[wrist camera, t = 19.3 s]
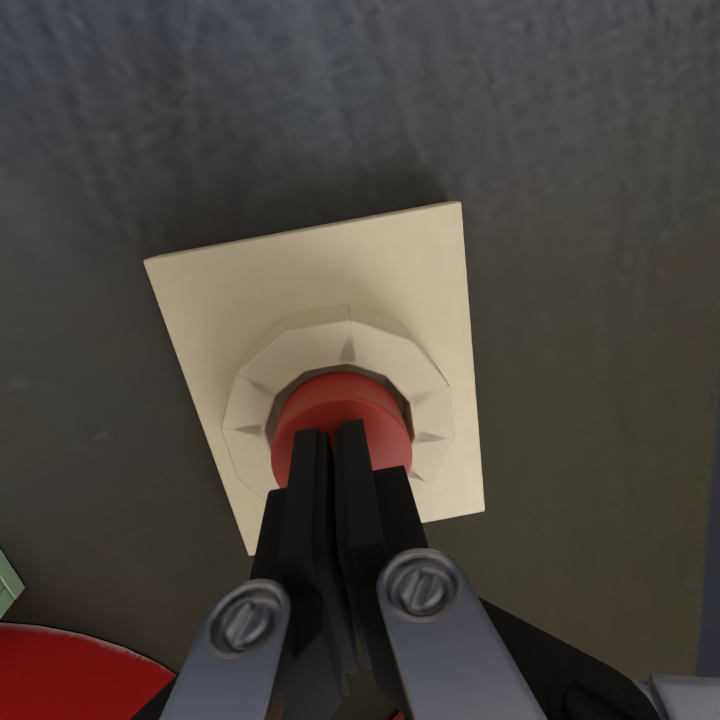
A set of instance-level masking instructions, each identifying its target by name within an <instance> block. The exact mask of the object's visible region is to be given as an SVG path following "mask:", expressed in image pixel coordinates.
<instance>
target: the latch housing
mask: <svg viewBox="0 0 720 720" xmlns="http://www.w3.org/2000/svg"><path fill="white" fill-rule="evenodd" d="M144 265H145V268H146V271H147V273H148V276H149V279H150V282H151V285H152V287H153V290H154V293H155V296H156V299H157V301H158V304H159V307H160V310H161V312H162V315H163V318H164V321H165V324H166V326H167V329H168V332H169V335H170V338H171V340H172V343H173V346H174V349H175V351H176V354H177V357H178V360H179V363H180V365H181V368H182V371H183V374H184V377H185V379H186V382H187V385H188V388H189V390H190V393H191V396H192V399H193V402H194V404H195V407H196V410H197V413H198V416H199V418H200V421H201V424H202V427H203V430H204V432H205V435H206V438H207V441H208V443H209V446H210V449H211V452H212V455H213V457H214V460H215V463H216V466H217V469H218V471H219V474H220V477H221V480H222V482H223V485H224V488H225V491H226V494H227V496H228V499H229V502H230V505H231V508H232V510H233V513H234V516H235V519H236V521H237V524H238V527H239V530H240V533H241V535H242V538H243V541H244V544H245V547H246V549H247V552H248V555H249V556H251V555H255V552H256V547H257V543H258V538H259V533H260V528H261V524H262V519H263V514H264V509H265V504H266V500H267V495H268V493H269V491H270V490H274V489H279V488H280V487H279V486H278V484H277V482H276V480H275V477H274V475H273V472H272V467H271V449H272V445H273V441H274V436H275V432H276V428H277V423H278V419H279V415H280V411H281V409H282V407H283V404H284V403H285V401H286V399H287V398H288V397H289V395H290V394H291V393H292V392H293V391H294V390H295V389H296V388H297V387H298V386H299V385H301V384H302V383H304V382H305V381H307V380H309V379H311V378H312V377H315V376H318V375H320V374H324V373H328V372H336V371H347V372H355V373H359V374H362V375H365V376H368V377H370V378H372V379H374V380H376V381H377V382H379V383H380V384H382V385H383V386H384V387H385V388H386V389H387V390H388V391H389V392H390V393H391V394H392V396H393V397H394V399H395V400H396V402H397V404H398V407H399V409H400V412H401V415H402V418H403V421H404V423H405V426H406V429H407V432H408V435H409V438H410V442H411V446H412V463H411V467H410V471H409V474H408V479H409V483H410V486H411V489H412V493H413V496H414V500H415V503H416V506H417V510H418V513H419V517H420V520H421V523H425V522H430V521H435V520H441V519H446V518H451V517H456V516H462V515H467V514H472V513H477V512H483V511H484V510H485V506H484V493H483V480H482V467H481V454H480V441H479V428H478V415H477V402H476V390H475V377H474V364H473V351H472V338H471V325H470V312H469V299H468V287H467V274H466V261H465V248H464V235H463V222H462V209H461V202H459V201H447V202H442V203H436V204H431V205H425V206H420V207H415V208H409V209H404V210H399V211H393V212H388V213H382V214H377V215H372V216H366V217H361V218H356V219H350V220H345V221H339V222H334V223H329V224H323V225H318V226H313V227H307V228H302V229H296V230H291V231H286V232H280V233H275V234H270V235H264V236H259V237H253V238H248V239H243V240H237V241H232V242H226V243H221V244H216V245H210V246H205V247H200V248H194V249H189V250H183V251H178V252H173V253H167V254H162V255H158V256H155V257H151V258H148V259H145V260H144Z"/></svg>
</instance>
